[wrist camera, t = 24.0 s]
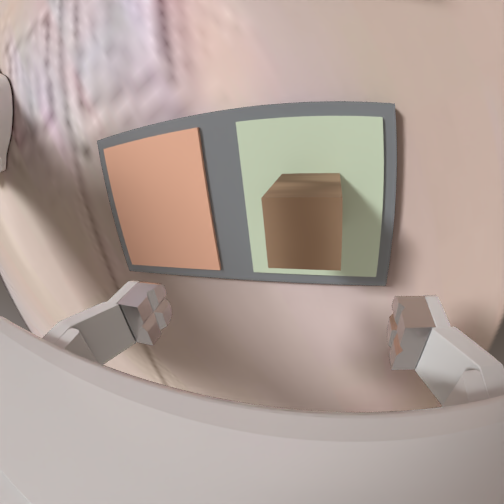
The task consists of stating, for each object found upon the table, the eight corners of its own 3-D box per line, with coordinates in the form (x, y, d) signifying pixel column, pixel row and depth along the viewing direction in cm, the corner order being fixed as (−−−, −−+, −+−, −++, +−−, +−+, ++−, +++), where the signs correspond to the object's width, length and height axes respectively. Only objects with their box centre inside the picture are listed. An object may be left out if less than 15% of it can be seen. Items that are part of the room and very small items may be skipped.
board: (134, 266, 29) (128, 272, 28) (104, 139, 23) (94, 141, 22) (384, 279, 22) (386, 287, 21) (391, 104, 16) (395, 103, 14)
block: (285, 226, 21) (268, 267, 16) (282, 173, 19) (261, 198, 14) (340, 227, 20) (340, 270, 14) (339, 173, 18) (342, 197, 13)
